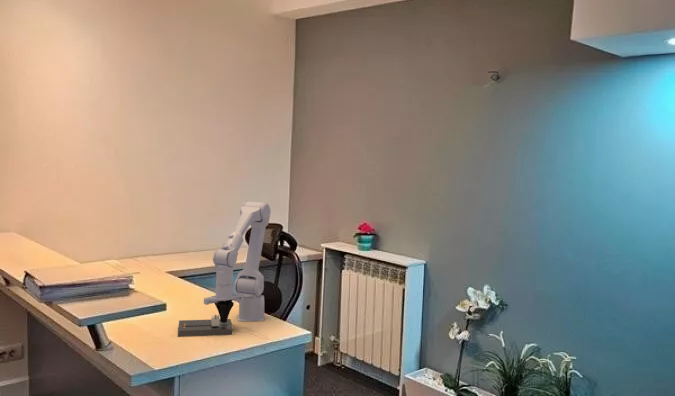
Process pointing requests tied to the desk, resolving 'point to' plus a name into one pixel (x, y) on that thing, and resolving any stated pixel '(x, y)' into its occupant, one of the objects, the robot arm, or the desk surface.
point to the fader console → (203, 328)
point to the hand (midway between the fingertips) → (223, 322)
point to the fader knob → (215, 320)
